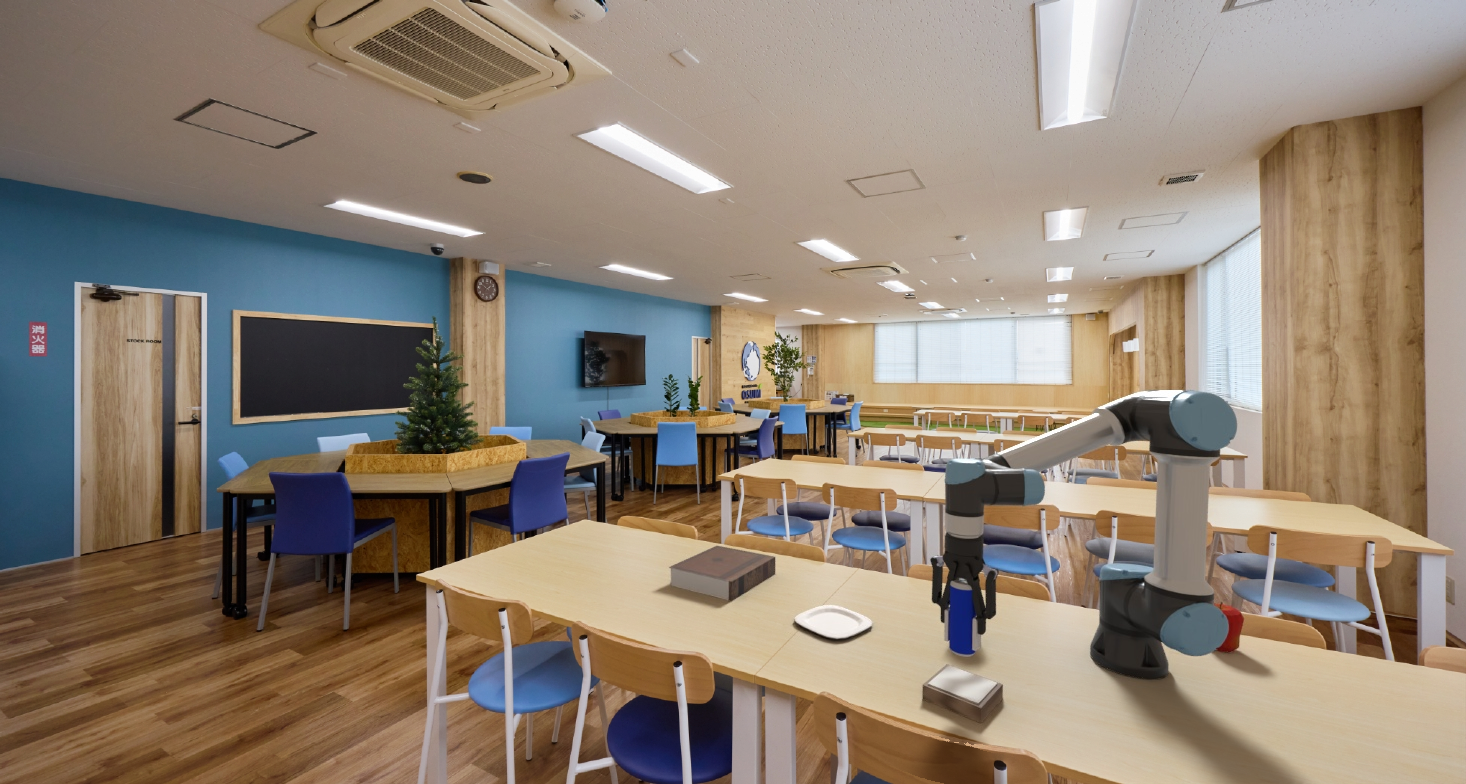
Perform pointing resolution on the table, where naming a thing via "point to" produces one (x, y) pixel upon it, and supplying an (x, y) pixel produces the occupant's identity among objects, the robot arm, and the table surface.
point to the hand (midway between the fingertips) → (962, 643)
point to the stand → (963, 692)
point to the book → (723, 572)
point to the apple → (1231, 628)
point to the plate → (833, 621)
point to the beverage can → (961, 618)
